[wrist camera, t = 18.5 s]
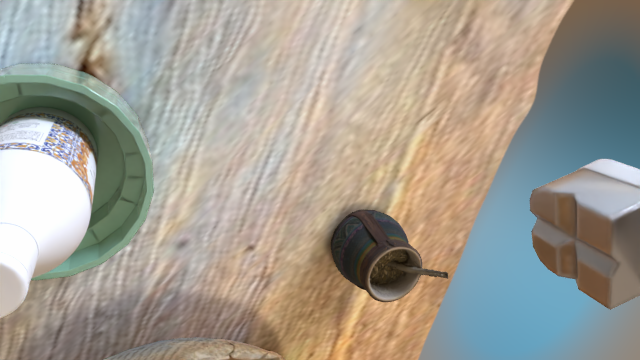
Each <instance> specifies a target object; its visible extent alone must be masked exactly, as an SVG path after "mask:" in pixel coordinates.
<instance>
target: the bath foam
mask: <svg viewBox="0 0 640 360" xmlns="http://www.w3.org/2000/svg"><path fill="white" fill-rule="evenodd" d="M97 159H98V153H97V146H96V143H95V140H94V138H93V136H92V134H91V132H90V131H89V129H88V128H87V127H86V126H85V125H84V124H83V123H82V122H81V121H80V120H79V119H77V118H76V117H74V116H73V115H71V114H69V113H67V112H65V111H62V110H58V109H53V108H47V107H33V108H28V109H24V110H21V111H18V112H16V113H14V114H12V115H11V116H9V117H8V118H6V119H5V120H4V121H3V122H2V123H1V124H0V319H1V318H3V317H6V316H8V315H10V314H11V313H13V312H14V311H15V310H16V309H18V308H19V307H20V305H21V304H22V303H23V301H24V300H25V298H26V295H27V293H28V288H29V283H30V281H31V278H34V277H37V276H40V275H42V274H45V273H47V272H49V271H51V270H53V269H54V268H56V267H57V266H59V265H60V264H62V263H63V262H64V261H65V260H66V259H67V258H68V257H69V256H70V255H71V254H72V253H73V252H74V251H75V250H76V249H77V247H78V246H79V244H80V243H81V241H82V239H83V237H84V236H85V233H86V231H87V229H88V226H89V223H90V219H91V212H92V203H93V195H94V187H95V178H96V170H97Z"/></svg>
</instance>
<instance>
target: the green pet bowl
mask: <svg viewBox="0 0 640 360" xmlns="http://www.w3.org/2000/svg"><path fill="white" fill-rule="evenodd" d="M33 107H47V108H53V109H58V110H62V111H65V112H67V113H69V114H71V115H73V116H74V117H76V118H77V119H79V120H80V121H81V122H82V123H83V124H84V125H85V126H86V127H87V128H88V129H89V131H90V132H91V134H92V136H93V138H94V140H95V143H96V146H97V153H98V159H97V170H96V178H95V187H94V195H93V203H92V212H91V219H90V223H89V226H88V229H87V231H86V233H85V236H84V237H83V239H82V241H81V243H80V244H79V246H78V247H77V249H76V250H75V251H74V252H73V253H72V254H71V255H70V256H69V257H68V258H67V259H66V260H65V261H64V262H63V263H62V264H60V265H59V266H57V267H56V268H54V269H53V270H51V271H49V272H47V273H45V274H42V275H40V276H37V277H34V278H31V280H43V279H52V278H60V277H68V276H72V275H75V274H77V273H80V272H83V271H85V270H88V269H90V268H93V267H95V266H98V265H100V264H102V263H104V262H105V261H107V260H108V259H109V258H111V257H112V256H113V255H114V254H116V253H117V252H118V251H120V250H121V249H122V248H124V247H125V246H126V245H127V244H128V243H129V242H130V241H131V239H132V238H133V237H134V235H135V234H136V232H137V231H138V230H139V228H140V227H141V225H142V224H143V223H144V221H145V219H146V216H147V213H148V210H149V206H150V203H151V200H152V196H153V193H154V184H153V166H152V158H151V153H150V149H149V144H148V140H147V137H146V135H145V132H144V130H143V128H142V125H141V123H140V121H139V118H138V116H137V114H136V113H135V112H134V111H133V110H132V108H131V107H130V106H129V105H128V104H127V103H126V101H125V100H124V99H123V98H122V97H121V96H120V94H119V93H118V92H117V91H115V90H114V89H112V88H111V87H109V86H107V85H106V84H104V83H103V82H101V81H100V80H98V79H96V78H95V77H93V76H92V75H90V74H88V73H84V72H81V71H78V70H74V69H71V68H68V67H64V66H61V65H57V64H56V65H55V64H16V65H13V66H9V67H6V68H3V69H0V124H1V123H2V122H3V121H4V120H5V119H6V118H8V117H9V116H11V115H12V114H14V113H16V112H18V111H21V110H24V109H28V108H33Z"/></svg>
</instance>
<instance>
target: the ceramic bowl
mask: <svg viewBox="0 0 640 360" xmlns="http://www.w3.org/2000/svg"><path fill="white" fill-rule="evenodd" d="M103 360H285V359H284V358H283V357H282V356H281V355H279V354H277V353H275V352H273V351H267V350H264V349H262V348H259V347H256V346H253V345H250V344H245V343H241V342H236V341H231V340H226V339H217V338H215V339H212V338H196V337H195V338H178V339H171V340H164V341H157V342H154V343H150V344H147V345H143V346H139V347H136V348H133V349H129V350H126V351H124V352H122V353H119V354H116V355H114V356H111V357H108V358H105V359H103Z"/></svg>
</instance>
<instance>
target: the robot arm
mask: <svg viewBox="0 0 640 360" xmlns="http://www.w3.org/2000/svg"><path fill="white" fill-rule="evenodd" d="M530 211H531V212H532V213H533V214H534V215H535V216H536V217H537V221H536V223H535V225H534V227H533V229H532V240H533V247H534V249H535V251H536V253H537V255H538V257H539V259H540V261H541V262H542V263H543V264H544V265H545V266H546V267H547V268H548V269H549V270H550V271H552V272H553V273H555V274H556V275H558V276H561V277H566V278H572V279H576V283H577V286H578V289H579V290H581V291H582V292H584V293H585V294H587V295H588V296H590V297H591V298H593V299H595V300H596V301H598V302H599V303H601V304H602V305H604V306H605V307H607V308H609V309H610V310H611V309H613V308H615V307H617V306H619V305H621V304H623V303H625V302H627V301H629V300H631V299H633V298H635V297H637V296H640V169H637V168H634V167H631V166H628V165H625V164H622V163H619V162H617V161H614V160H611V159H599V160H597V161H594V162H592V163H591V164H588V165H586V166H584V167H582V168H579V169H578V170H577V171H575V172H573V173H571V174H568V175H566V176H564V177H562V178H559V179H557V180H555V181H552V182H550V183H548V184H546V185H543V186H541V187H539V188H536V189H534V190H533V191H532V194H531V197H530Z"/></svg>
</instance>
